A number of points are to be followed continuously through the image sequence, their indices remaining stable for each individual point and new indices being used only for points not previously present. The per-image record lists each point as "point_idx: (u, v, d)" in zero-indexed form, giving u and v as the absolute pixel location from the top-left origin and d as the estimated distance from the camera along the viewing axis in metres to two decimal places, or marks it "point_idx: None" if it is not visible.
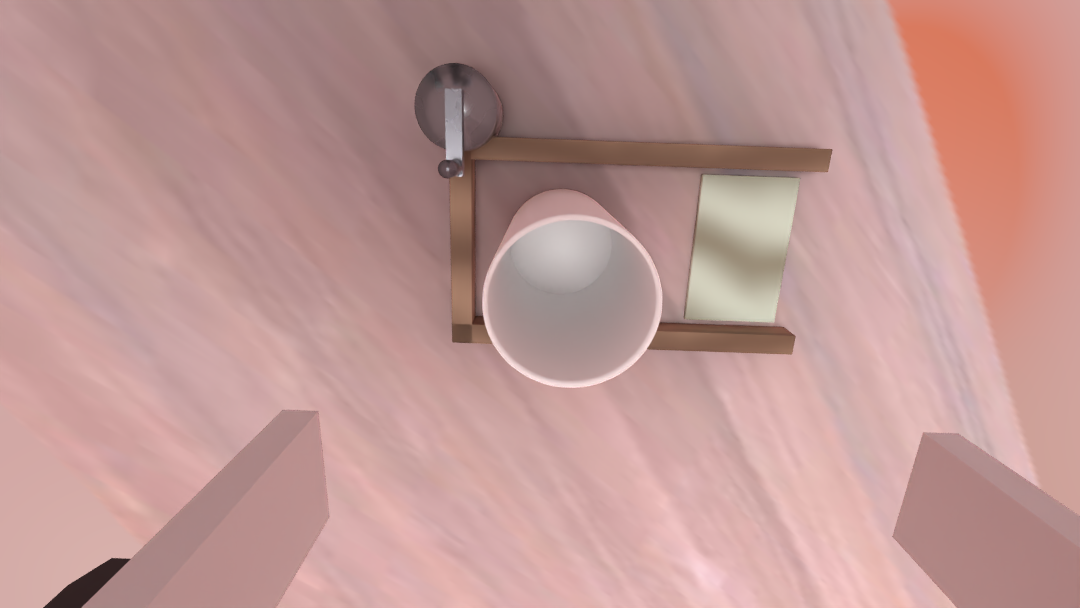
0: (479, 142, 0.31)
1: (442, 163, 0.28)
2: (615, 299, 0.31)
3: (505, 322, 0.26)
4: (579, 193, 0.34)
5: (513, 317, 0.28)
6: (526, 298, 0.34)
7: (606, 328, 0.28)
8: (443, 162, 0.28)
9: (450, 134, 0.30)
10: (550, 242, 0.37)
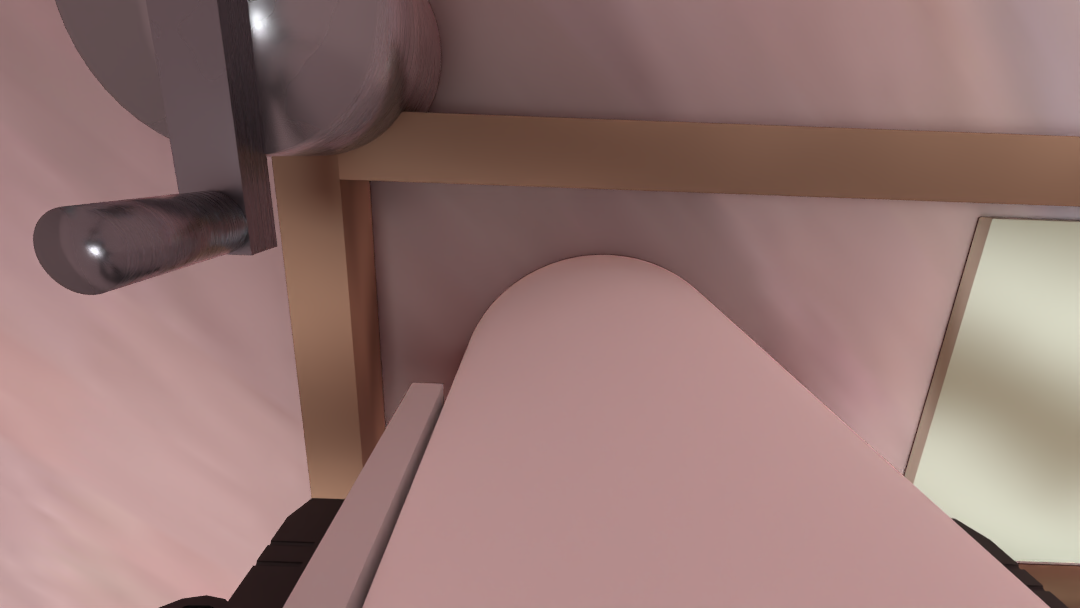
0: (320, 124, 0.08)
1: (51, 223, 0.05)
2: None
3: None
4: (661, 278, 0.12)
5: None
6: None
7: None
8: (56, 218, 0.05)
9: (182, 89, 0.07)
10: None
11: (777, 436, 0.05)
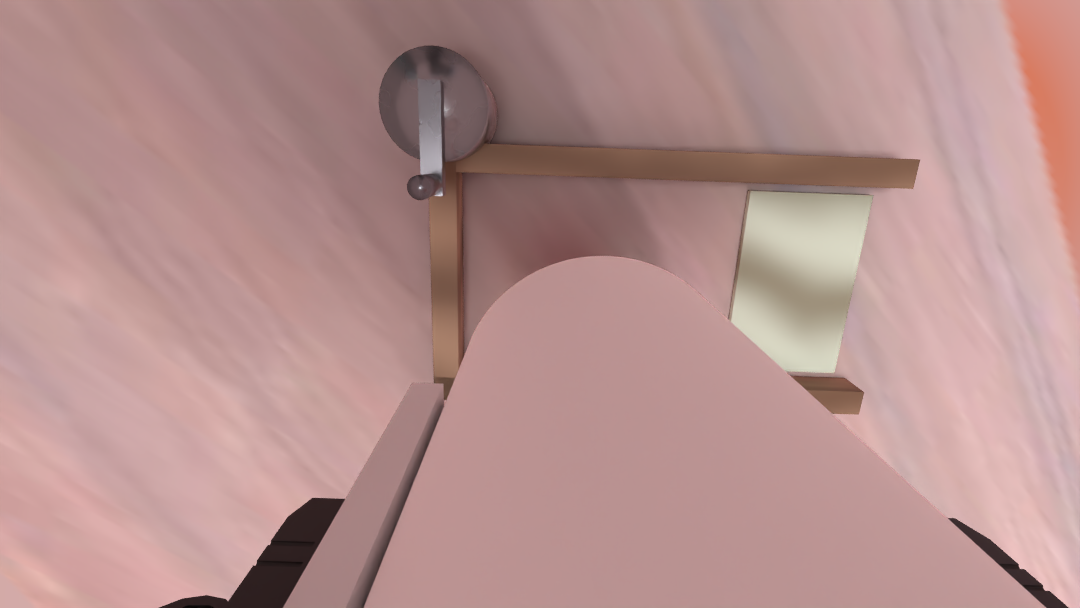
0: (465, 151, 0.23)
1: (413, 180, 0.21)
2: None
3: None
4: (661, 279, 0.12)
5: None
6: None
7: None
8: (414, 178, 0.21)
9: (426, 140, 0.22)
10: None
11: (776, 437, 0.05)
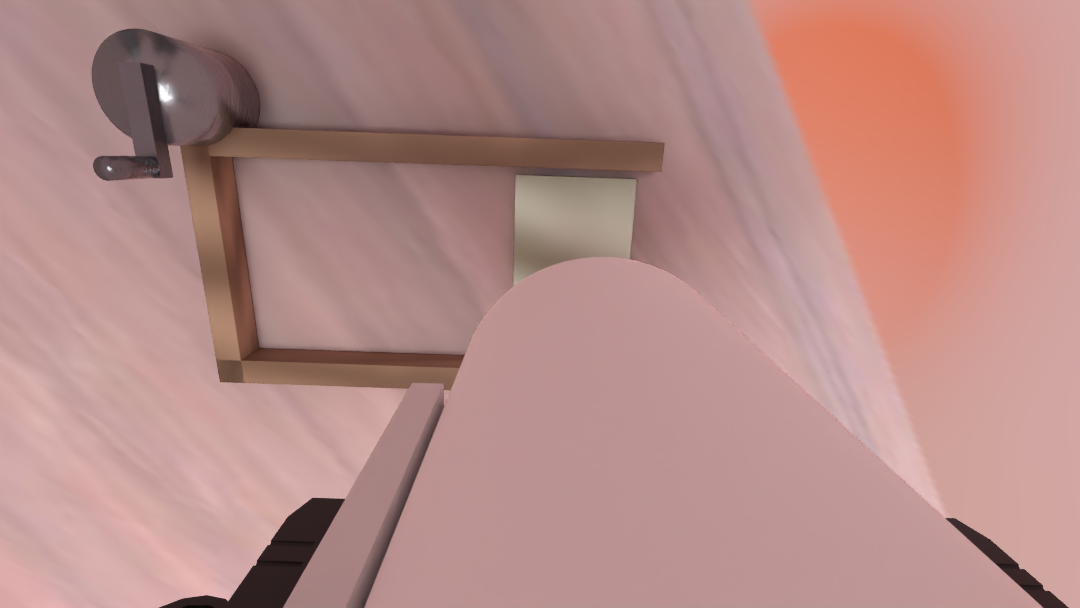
0: (185, 133, 0.24)
1: (97, 160, 0.21)
2: None
3: None
4: (661, 281, 0.12)
5: None
6: None
7: None
8: (99, 159, 0.21)
9: (136, 123, 0.23)
10: None
11: (776, 441, 0.05)
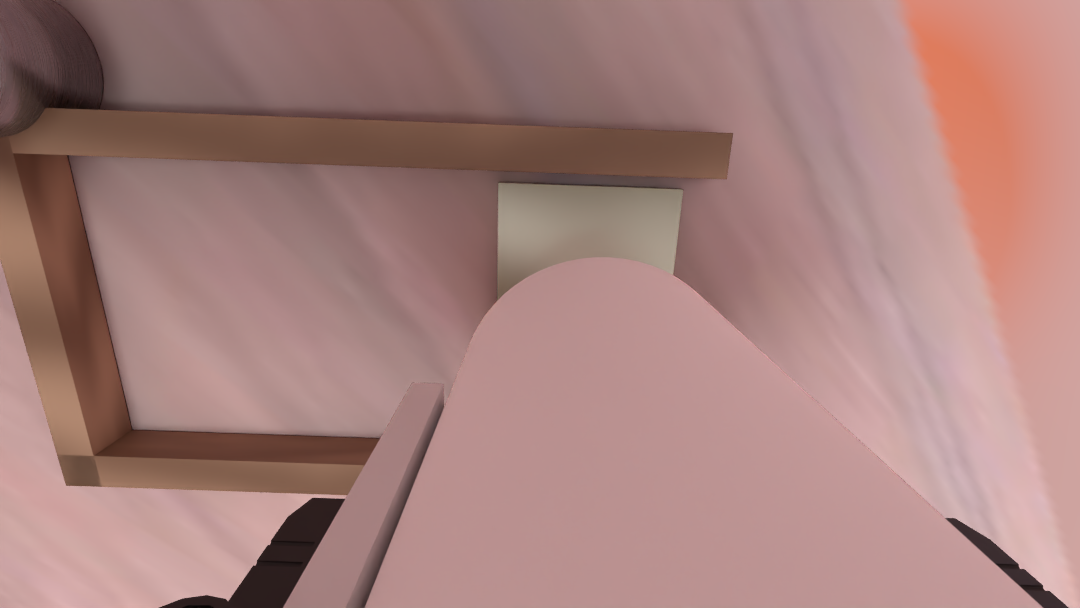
0: None
1: None
2: None
3: None
4: (661, 281, 0.12)
5: None
6: None
7: None
8: None
9: None
10: None
11: (776, 442, 0.05)
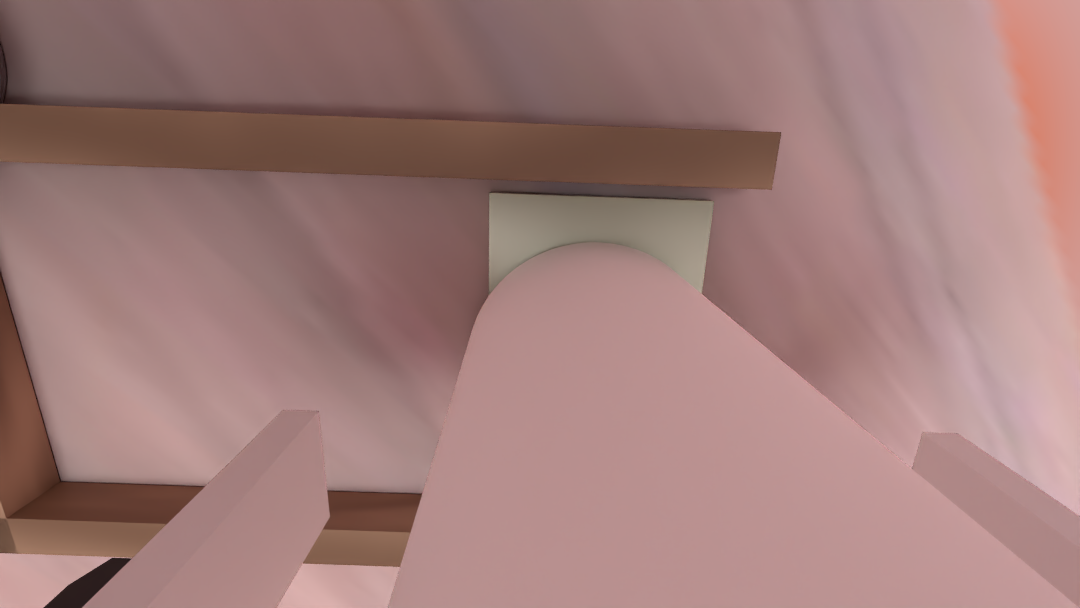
0: None
1: None
2: None
3: None
4: (645, 261, 0.14)
5: None
6: None
7: None
8: None
9: None
10: None
11: (731, 364, 0.07)
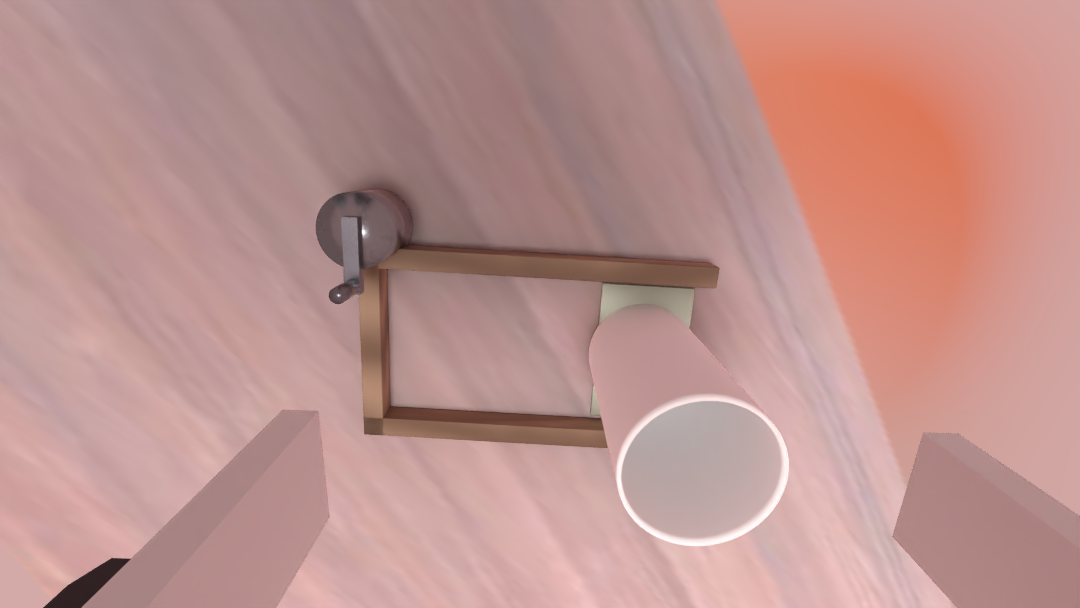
0: (377, 262, 0.33)
1: (332, 290, 0.30)
2: (710, 429, 0.32)
3: None
4: (666, 314, 0.36)
5: None
6: None
7: (707, 465, 0.30)
8: (333, 290, 0.30)
9: (347, 257, 0.32)
10: None
11: (687, 346, 0.29)
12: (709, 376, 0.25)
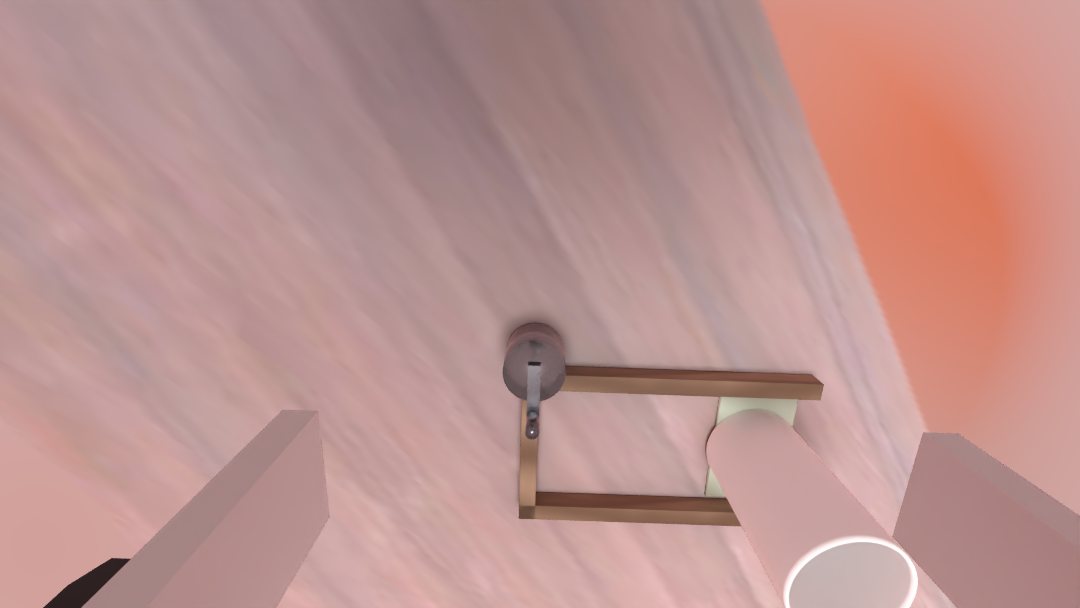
0: (551, 395, 0.40)
1: (528, 430, 0.37)
2: None
3: None
4: (778, 422, 0.43)
5: None
6: None
7: (831, 562, 0.37)
8: (529, 429, 0.37)
9: (530, 395, 0.39)
10: None
11: (816, 470, 0.37)
12: (850, 512, 0.32)
